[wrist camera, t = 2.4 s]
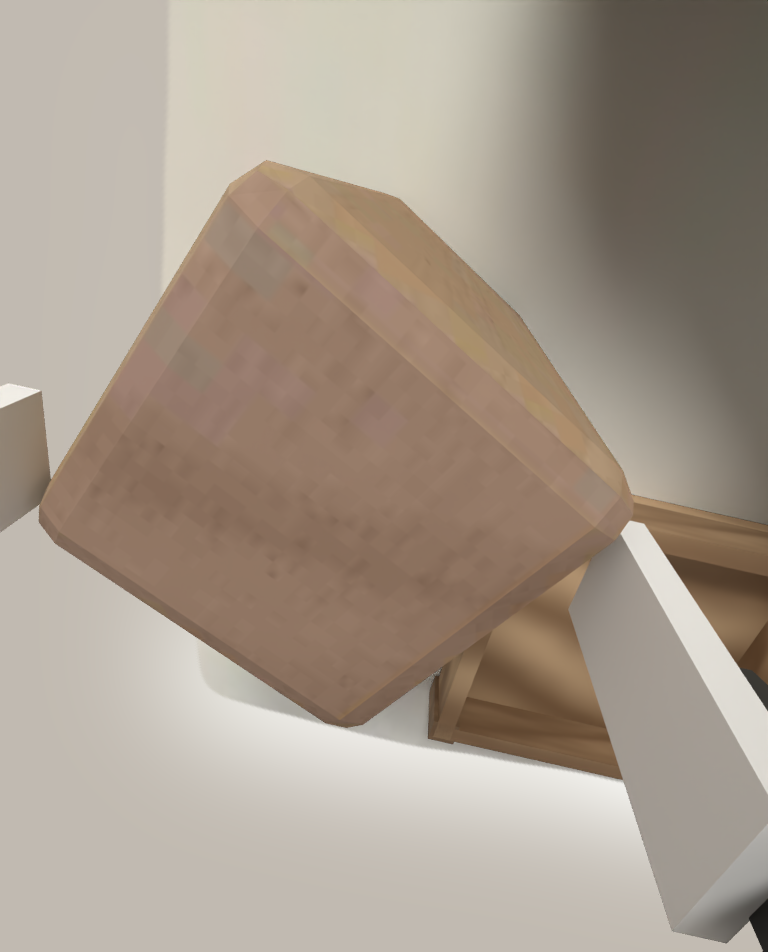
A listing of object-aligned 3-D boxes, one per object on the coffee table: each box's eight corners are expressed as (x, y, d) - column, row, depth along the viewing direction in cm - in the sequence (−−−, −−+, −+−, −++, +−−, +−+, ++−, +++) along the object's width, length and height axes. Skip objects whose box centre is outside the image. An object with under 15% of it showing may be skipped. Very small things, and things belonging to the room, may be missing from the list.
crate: (507, 462, 31) (515, 494, 28) (838, 536, 31) (888, 577, 28) (429, 692, 40) (427, 738, 37) (685, 750, 40) (708, 802, 37)
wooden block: (404, 452, 32) (345, 757, 14) (270, 339, 30) (2, 532, 12) (530, 324, 28) (673, 527, 10) (386, 184, 26) (241, 122, 8)
